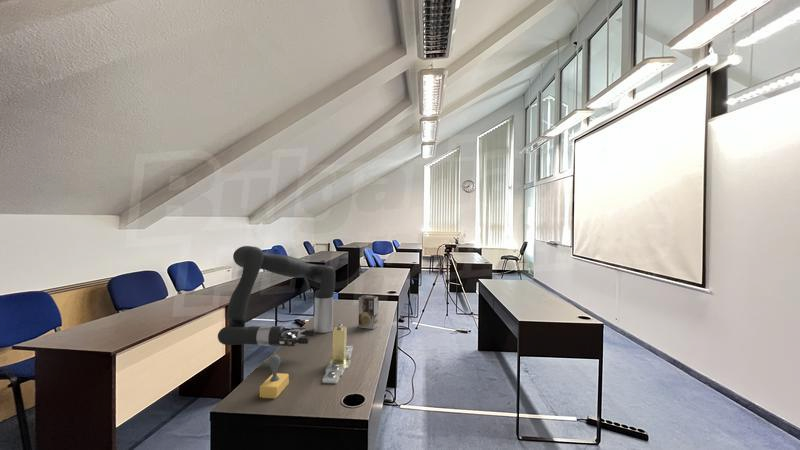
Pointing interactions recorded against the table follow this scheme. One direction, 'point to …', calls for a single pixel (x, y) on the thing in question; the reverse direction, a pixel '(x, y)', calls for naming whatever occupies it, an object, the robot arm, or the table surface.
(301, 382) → the table surface
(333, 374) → the studded plate chain
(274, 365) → the yellow handled block
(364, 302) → the coffee box
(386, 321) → the table surface
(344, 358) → the tall studded toy brick
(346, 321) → the table surface
